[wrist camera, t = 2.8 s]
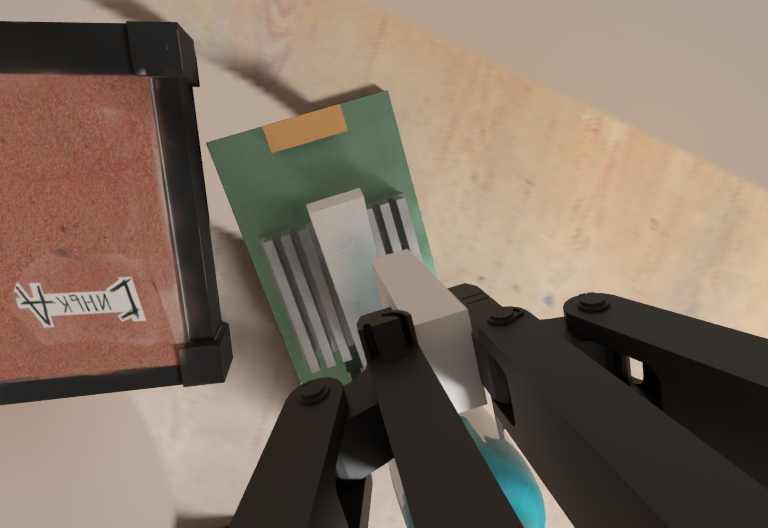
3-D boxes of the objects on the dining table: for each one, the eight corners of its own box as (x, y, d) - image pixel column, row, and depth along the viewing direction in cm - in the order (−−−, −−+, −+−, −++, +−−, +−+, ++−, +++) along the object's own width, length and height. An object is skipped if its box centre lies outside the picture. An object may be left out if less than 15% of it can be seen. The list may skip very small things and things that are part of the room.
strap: (367, 378, 38) (370, 386, 37) (306, 204, 23) (309, 213, 23) (400, 366, 38) (403, 374, 38) (359, 187, 24) (363, 196, 23)
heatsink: (306, 394, 42) (307, 440, 35) (208, 143, 35) (187, 139, 28) (452, 341, 43) (480, 375, 37) (385, 91, 37) (404, 76, 30)
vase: (382, 368, 42) (445, 526, 24) (484, 369, 45) (612, 515, 26) (371, 463, 45) (422, 674, 26) (468, 460, 47) (577, 653, 29)
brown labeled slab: (-69, 38, 31) (-138, 16, 26) (194, 41, 34) (176, 22, 29) (17, 378, 37) (-24, 411, 32) (233, 355, 40) (224, 382, 35)
